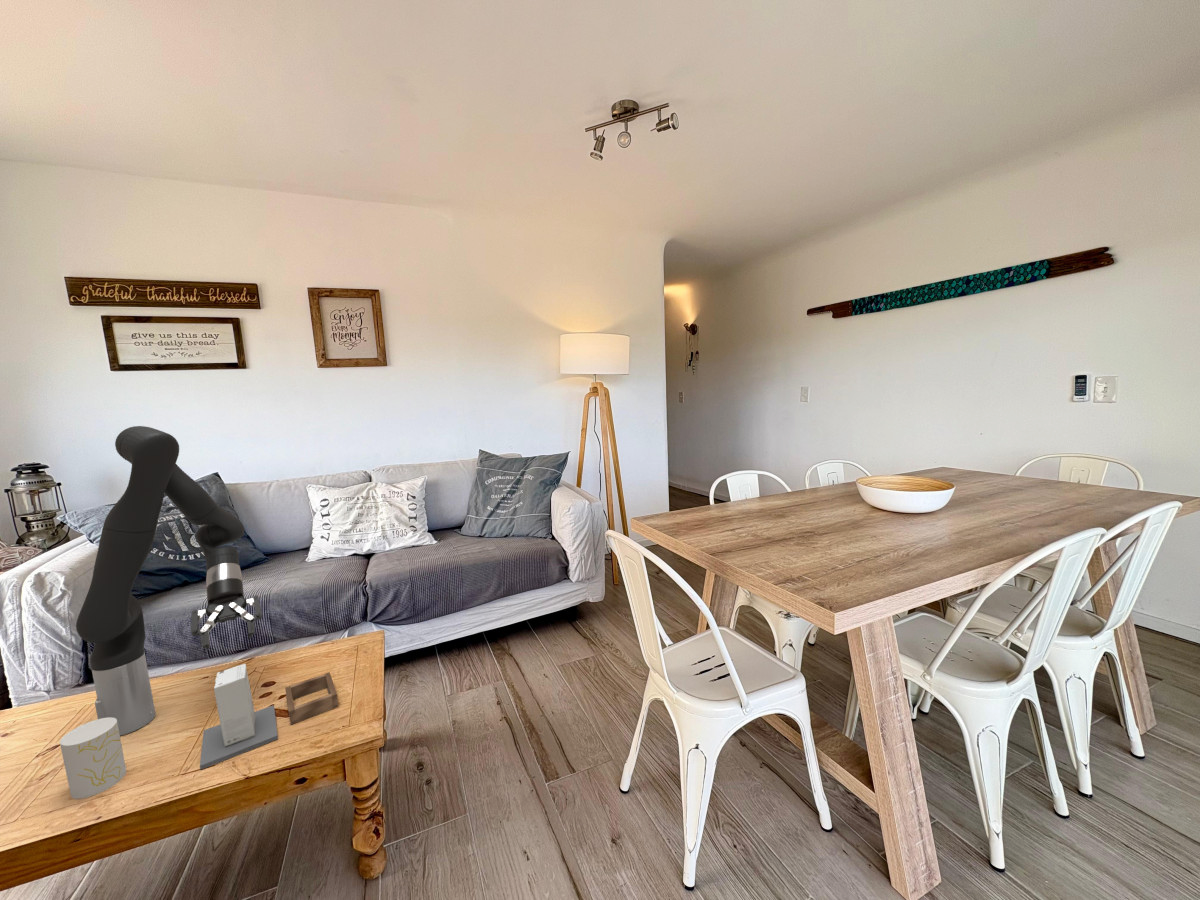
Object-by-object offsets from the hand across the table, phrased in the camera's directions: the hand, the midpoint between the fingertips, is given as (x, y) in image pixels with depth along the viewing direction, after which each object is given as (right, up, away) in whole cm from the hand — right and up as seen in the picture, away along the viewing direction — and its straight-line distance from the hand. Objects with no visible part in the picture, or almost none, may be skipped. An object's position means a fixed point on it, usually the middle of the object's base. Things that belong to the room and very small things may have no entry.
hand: (229, 642), depth 118 cm
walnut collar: (+18, -18, +5) cm, 26 cm away
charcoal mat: (+8, -20, -6) cm, 22 cm away
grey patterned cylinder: (-13, -23, -18) cm, 32 cm away
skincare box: (+7, -19, -6) cm, 21 cm away
